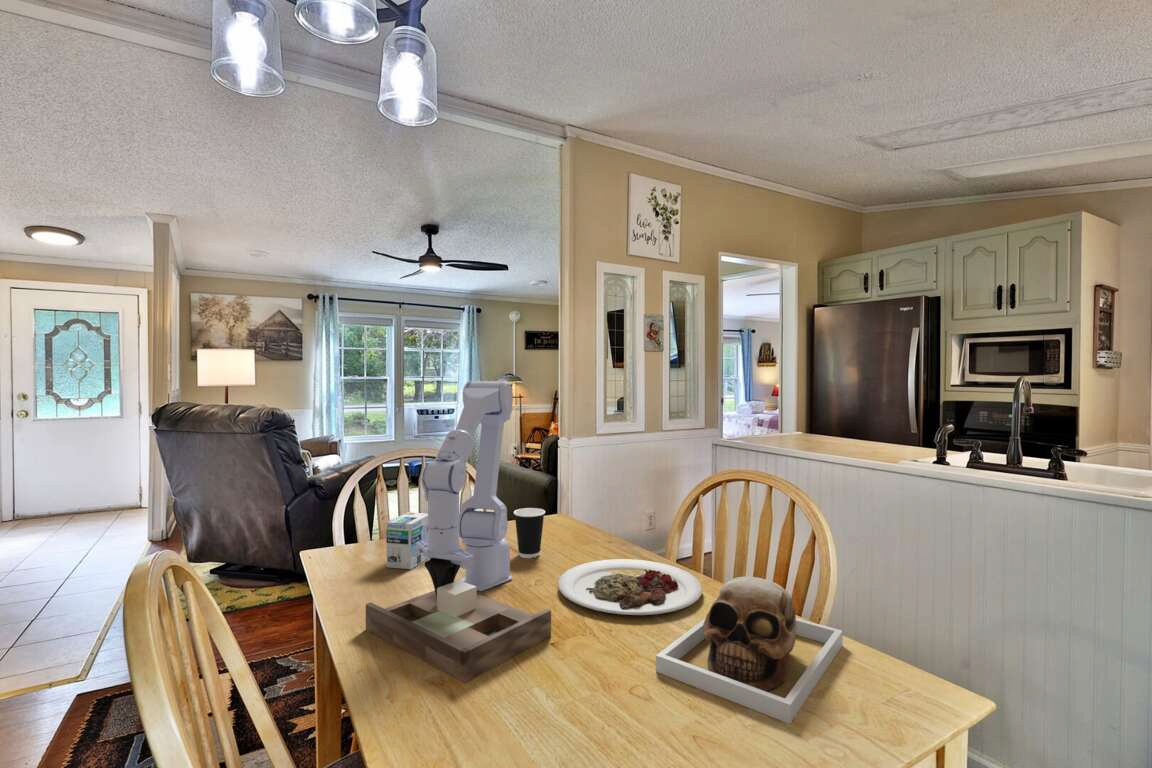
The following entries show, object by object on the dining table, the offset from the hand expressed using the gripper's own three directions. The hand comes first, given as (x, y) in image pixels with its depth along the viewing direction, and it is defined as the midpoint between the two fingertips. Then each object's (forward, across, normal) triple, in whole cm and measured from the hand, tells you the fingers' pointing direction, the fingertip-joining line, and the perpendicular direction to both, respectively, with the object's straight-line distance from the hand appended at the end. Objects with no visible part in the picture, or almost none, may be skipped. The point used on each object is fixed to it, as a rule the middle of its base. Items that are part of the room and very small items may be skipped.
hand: (443, 597), depth 102 cm
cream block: (+1, +4, 0) cm, 4 cm away
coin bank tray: (+3, +50, +22) cm, 55 cm away
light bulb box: (+4, -32, +14) cm, 35 cm away
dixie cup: (+4, -12, +36) cm, 38 cm away
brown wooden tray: (+3, +7, -2) cm, 8 cm away
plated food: (+4, +20, +33) cm, 39 cm away
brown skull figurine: (+4, +51, +20) cm, 55 cm away
